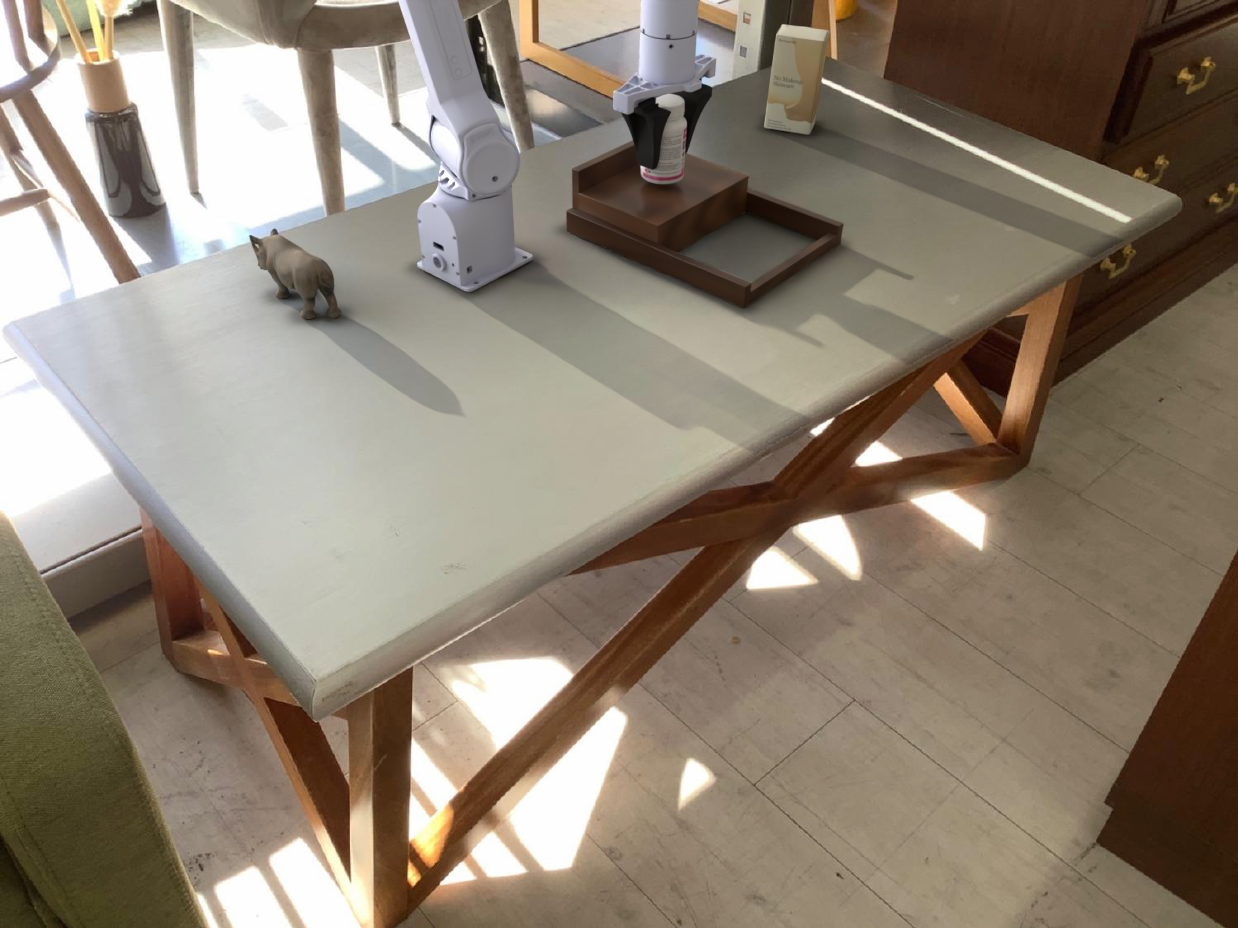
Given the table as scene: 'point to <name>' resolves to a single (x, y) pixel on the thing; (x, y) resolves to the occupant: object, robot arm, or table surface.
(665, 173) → the pill bottle
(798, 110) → the cosmetic box
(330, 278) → the rhino figurine
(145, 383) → the table surface
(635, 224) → the step rack
